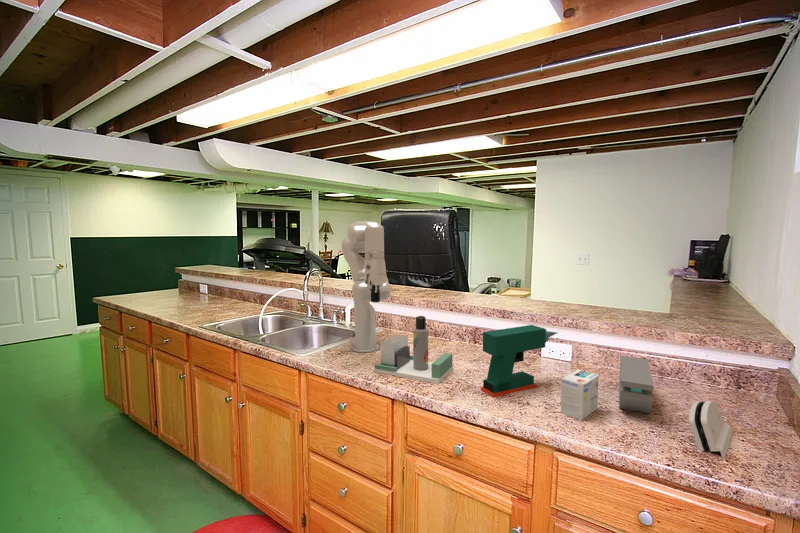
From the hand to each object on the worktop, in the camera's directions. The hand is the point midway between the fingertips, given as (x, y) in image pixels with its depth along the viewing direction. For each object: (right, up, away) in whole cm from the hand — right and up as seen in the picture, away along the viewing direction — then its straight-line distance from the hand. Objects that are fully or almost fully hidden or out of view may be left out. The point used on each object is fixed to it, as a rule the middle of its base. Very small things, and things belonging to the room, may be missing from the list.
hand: (375, 301), depth 152 cm
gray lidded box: (+82, -29, -34) cm, 94 cm away
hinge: (+89, -30, -55) cm, 109 cm away
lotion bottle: (+18, -25, -6) cm, 31 cm away
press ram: (+8, -24, -2) cm, 26 cm away
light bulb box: (+63, -29, -39) cm, 80 cm away
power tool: (+53, -27, -19) cm, 63 cm away
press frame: (+15, -26, -5) cm, 31 cm away
